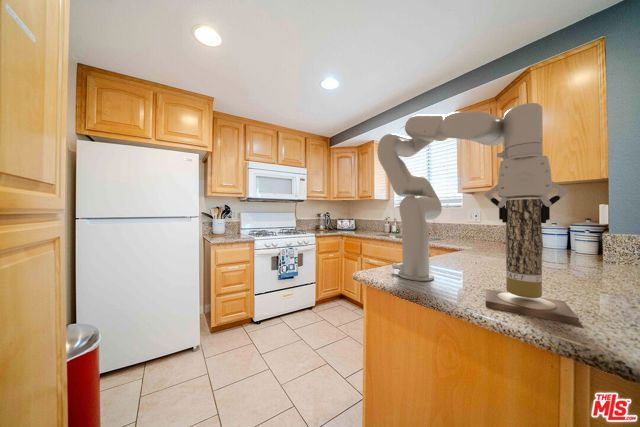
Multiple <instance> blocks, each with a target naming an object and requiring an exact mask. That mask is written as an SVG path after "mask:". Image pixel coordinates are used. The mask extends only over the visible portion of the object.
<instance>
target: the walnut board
mask: <svg viewBox="0 0 640 427" xmlns="http://www.w3.org/2000/svg"><path fill="white" fill-rule="evenodd" d="M485 308H491V309H497V310H500V311H501V310H502V311H506V312H510V313H516V314H521V315H527V316H531V317H536V318H541V319H546V320H551V321H556V322H560V323H561V322H563V323H566V324H570V325H571V324H573V325H575V326H580V318H579V316H578V315H577V314H576V313H575V312H574V311H573V310H572V309H571V307H570V306H569V305H568V304H567V303H566V301H564V300H558V299H553V298H552V299H550V298H546V297H539V298H526V297H521V296H517V295H514V294H511V293H509V292H508V291H507V292H506V291H503V290H495V289H488V288H486V290H485Z"/></svg>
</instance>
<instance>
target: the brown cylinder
mask: <svg viewBox="0 0 640 427" xmlns="http://www.w3.org/2000/svg"><path fill="white" fill-rule="evenodd" d="M541 205H542V204H541V199H540V198H539V197H518V198H508V200H507V201H506V203H505V208H506V222H505V268H506V269H505V277H506V278H505V279H506V280H505V281H506V285H505V286H506V287H505V288H506V291H507V292H509V293H511V294H514V295H517V296H521V297H526V298H539V297H540V298H542V296H543V285H542V283H543V271H542V270H543V263H542V261H543V258H542V257H543V255H542V254H543V251H542V250H543V249H542V248H543V246H542V244H543V243H542V237H543V236H542V223H541V207H542V206H541Z"/></svg>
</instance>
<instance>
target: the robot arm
mask: <svg viewBox="0 0 640 427" xmlns="http://www.w3.org/2000/svg"><path fill="white" fill-rule="evenodd" d="M543 124H544V123H543V107H542V105H541V104H540V103H537V102H528V103H527V102H526V103H523V104H518V105H516V106H513V107H511V108H509V109H508V110H507V111H506V112H505V113H504V115H503V117H501V116H496V115H493V114H491V113H488V112H485V111H455V112H451V113H448V114H416V115H413V116H411V117H408V119H407V120H406V123H405V125H404V129H405V134H406V135H408V136H406V135H401V134H398V133H387V134H385V135H383V136H382V137H381V138H380V140H379V142H378V145H377V150H376V151H377V158H378V159H377V160H378V161H379V164H380V165H381V166H382V168H383V169H382V170H384V172H385V174H386V177H387V179H388V180H389V183H390V185H391V187H392V189H393V191H394V193H395V194H396V195H397V196H398V197H403V199H401V201H400V203H399V207H398V208H399V215H400V221H401V239H402V240H401V244H402V248H401V249H402V250H401V252H402V254H401V255H402V257H401V259H402V263H400V264H399V263H392V264H391V267H392V269H393V270H399V271H398V273H397V275H398V276H399V277H400V278H403V279H405V280H410V281H418V282H428V281H433V280H434V277H435V276H434V274H432V273H430V233H429V227H428V222H427V221H429V220H435V219H437V218H438V217H439V216H440V215H441V213H442V211H443V209H442V207H443V206H442V203H441V200H440V198H439V197H438V194H437V193H436V191H435V189H434V188H433V186H432V185H431V182H430V181H429V180H428V179H427V178H426V177H425V176H422V175H418V174H414V173H412V172H410V171H409V169H408V166H407V165H406V163H405V162H404V161H403V160H402V159H401V157H402V158H410V157H413V156H414V155H416V154H418V153H419V152H421V150H423V149H425V148H427V146H429V145H430V144H432V143H433V142H434V141H436V142H444V141H446V140H447V139H456V140H457V139H459V140H467V141H471V142H476V143H478V144H482V145H485V146H495V145H500V144H502V143H503V151H501V152H498V153H496V158H497V159H502V160H501V161H500V162H499V166H498V172H497V173H498V174H497V183H496V185H495V186H493V187H492V188H490V189H489V190H488V191H487V192H485V193H484V197H485V198H486V199H487V200H489V202H491V203H492V204H493V205H495V206H496V208H497V207H498V220H501V222H502V223H505V224H506V201H507V200H508V198H518V197H539V198H540V199H541V224H547V221H551V220H550V219H551V215H550V207H552V206H553V205H554V204H555V203H557V202H558V201H559V200H561V199H562V198H563V197H564V196H566V195H567V194H568V193H569V192H570V191H569V189H568V188H566V187H564V186H562V185H560V184H558V183H556V182H554V181H553V180H552V179H553V178H552V170H551V164H550V161H549V160H550V159H549V157H548V155H544V153H543V152H544V146H543V145H544V144H543V139H544V138H543V132H544V131H543ZM553 190H554V191H556V194H554V195H553V196H552V197H551V198H548V197H547V196H548V195H550V194H552V191H553ZM494 193H497V196H498V197H500V198H501V199H500V201H499V200H498V199H497V198H496V197H494V196H493V194H494ZM426 220H427V221H426Z"/></svg>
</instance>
